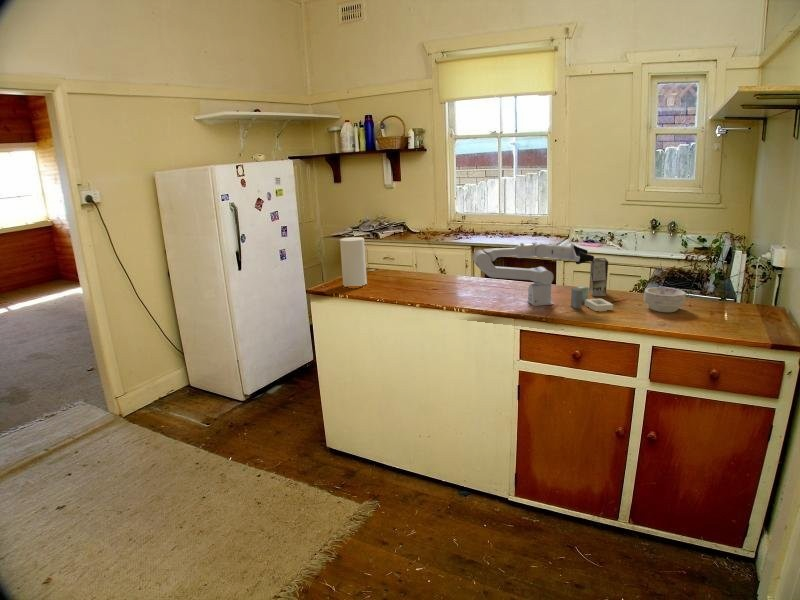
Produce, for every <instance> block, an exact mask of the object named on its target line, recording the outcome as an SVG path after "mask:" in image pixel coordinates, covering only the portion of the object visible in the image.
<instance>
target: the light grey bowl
mask: <svg viewBox="0 0 800 600" xmlns="http://www.w3.org/2000/svg"><path fill="white" fill-rule="evenodd" d="M686 293H687V292H685V291H683V290H681V289H679V288H678V289H677V288H672V287H671V288H670V287H663V286H662V287H660V286H659V287H658V286H657V287H655V286H654V287H648V288H645V289H644V293H643V302H644V304H645V303H646V304H647V305H648V307H649V308H650V310H652V311H655V312H659V313H674V312H676V311H678V310H679V308H681V307H683V306H685V304H686V296H687V294H686Z"/></svg>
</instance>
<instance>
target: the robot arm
mask: <svg viewBox="0 0 800 600" xmlns="http://www.w3.org/2000/svg"><path fill="white" fill-rule="evenodd" d="M512 256H515V257H516V258H517V259H523V258H534V257H536V258H539V259H544V258H548V259H556V260H559V259H560V260H567V261H574V262H575V264H576V265H580V264H583V263H587V262H590V263H591V261H593V259H594V258H595V256H594V255H592V254H588V249H584V248H581V247H579V246H577V245H575V244H573V243H571V244H570V246H568V245H557V244H548V243H547V244H544V243H541V242H537V241H536V242H531V243H524V242H520V243H519V244H516V245H515V247H502V248H501V247H500V248H499V247H496V248H494V247H493V248H484V249H477V250H475V251H474V252H473V254H472V260H473V261H472V262H474V264H475V266H477V268H478V269H479V270H480V271H482V272H483V273H484V274H485V275H486V276H488V277H489V278H497V279H510V280H522V281H523V280H524V281H532V282H534V283H532V284H529V285H528V288H527V302H528V303H529V304H530V305H532V306H533V307H538V306H548V305H549V306H550V305H555V302H553V301H552V283H553V281H554V274H553V272H552V271H550V270H548V269H547V268H546V267H545V266H541V265H540V266H537V267H530V268H525V267H524V268H523V267H514V266H513V267H510V266H496V265H495V264H494V263H493V262H495V260H497V258H501V257H502V258H503V257H512Z"/></svg>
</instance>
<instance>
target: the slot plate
mask: <svg viewBox="0 0 800 600" xmlns="http://www.w3.org/2000/svg"><path fill="white" fill-rule="evenodd" d="M584 306H585V307H587V308H588V307H589V310H592V311H594V312H595V311H599V312H608V311H607V310H611V311H614V303H611V302H610V301H608V300H605V299H603V298H602V297H601V298H590V299H589V298H587V300H585V302H584Z"/></svg>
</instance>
